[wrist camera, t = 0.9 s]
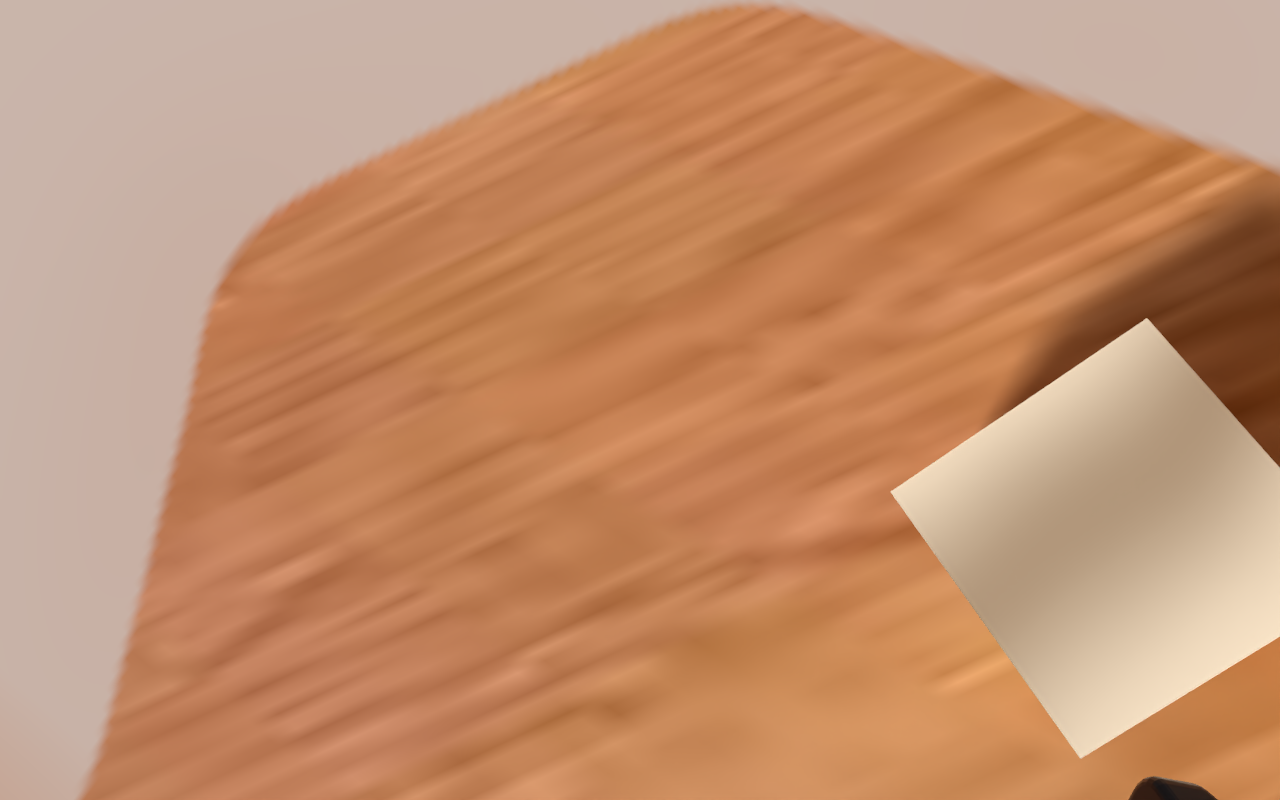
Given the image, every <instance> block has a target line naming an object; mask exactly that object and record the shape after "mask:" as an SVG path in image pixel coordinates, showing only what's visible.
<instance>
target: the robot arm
mask: <svg viewBox="0 0 1280 800" xmlns="http://www.w3.org/2000/svg"><path fill="white" fill-rule="evenodd" d="M1129 800H1217V799H1216V798H1215V797H1214V796H1213V795H1211V794H1210V793H1209V792H1208V791H1207V790H1205V789H1204V788H1202V787H1200V786H1198V785H1196V784H1193V783H1189V782H1183V781H1178V780H1172V779H1167V778H1161V777H1147V778H1145V779H1143V780H1142V781H1141V782H1139V783H1138V784H1137V786H1136V787H1135V789H1134V791H1133V792H1132V794H1131V796H1130V798H1129Z"/></svg>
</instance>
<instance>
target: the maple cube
mask: <svg viewBox="0 0 1280 800" xmlns="http://www.w3.org/2000/svg"><path fill="white" fill-rule="evenodd" d="M891 493H892V495H893V496H894V497H895V499H896V500H897V502H898V503H899V505H900V506H901V507H902V509H903V510H904V512H905V513H906V514H907V516H908V517H909V519H910V520H911V521H912V523H913V524H914V526H915V527H916V528H917V530H918V531H919V533H920V534H921V535H922V537H923V538H924V540H925V541H926V542H927V544H928V545H929V547H930V548H931V549H932V551H933V552H934V554H935V555H936V556H937V558H938V559H939V561H940V562H941V564H942V565H943V566H944V568H945V569H946V571H947V572H948V573H949V575H950V576H951V578H952V579H953V580H954V582H955V583H956V585H957V586H958V587H959V589H960V590H961V592H962V593H963V594H964V596H965V597H966V599H967V600H968V601H969V603H970V604H971V606H972V607H973V608H974V610H975V611H976V613H977V614H978V615H979V617H980V618H981V620H982V621H983V623H984V624H985V625H986V627H987V628H988V630H989V631H990V632H991V634H992V635H993V637H994V638H995V639H996V641H997V642H998V644H999V645H1000V646H1001V648H1002V649H1003V651H1004V652H1005V653H1006V655H1007V656H1008V658H1009V659H1010V660H1011V662H1012V663H1013V665H1014V666H1015V667H1016V669H1017V670H1018V672H1019V673H1020V675H1021V676H1022V677H1023V679H1024V680H1025V682H1026V683H1027V684H1028V686H1029V687H1030V689H1031V690H1032V691H1033V693H1034V694H1035V696H1036V697H1037V698H1038V700H1039V701H1040V703H1041V704H1042V705H1043V707H1044V708H1045V710H1046V711H1047V712H1048V714H1049V715H1050V717H1051V718H1052V719H1053V721H1054V722H1055V724H1056V725H1057V726H1058V728H1059V729H1060V731H1061V732H1062V734H1063V735H1064V736H1065V738H1066V739H1067V741H1068V742H1069V743H1070V745H1071V746H1072V748H1073V749H1074V750H1075V752H1076V753H1077V755H1078V756H1079V757H1080V759H1081V758H1082V757H1084V756H1086V755H1087V754H1089V753H1091V752H1092V751H1094V750H1096V749H1097V748H1099V747H1100V746H1102V745H1104V744H1105V743H1107V742H1109V741H1110V740H1112V739H1113V738H1115V737H1117V736H1118V735H1120V734H1122V733H1123V732H1125V731H1126V730H1128V729H1130V728H1131V727H1133V726H1135V725H1136V724H1138V723H1140V722H1141V721H1143V720H1144V719H1146V718H1148V717H1149V716H1151V715H1153V714H1154V713H1156V712H1157V711H1159V710H1161V709H1162V708H1164V707H1166V706H1167V705H1169V704H1170V703H1172V702H1174V701H1175V700H1177V699H1179V698H1180V697H1182V696H1184V695H1185V694H1187V693H1188V692H1190V691H1192V690H1193V689H1195V688H1197V687H1198V686H1200V685H1201V684H1203V683H1205V682H1206V681H1208V680H1210V679H1211V678H1213V677H1214V676H1216V675H1218V674H1219V673H1221V672H1223V671H1224V670H1226V669H1228V668H1229V667H1231V666H1232V665H1234V664H1236V663H1237V662H1239V661H1241V660H1242V659H1244V658H1245V657H1247V656H1249V655H1250V654H1252V653H1254V652H1255V651H1257V650H1258V649H1260V648H1262V647H1263V646H1265V645H1267V644H1268V643H1270V642H1272V641H1273V640H1275V639H1276V638H1278V637H1280V467H1279V466H1278V465H1277V464H1276V463H1275V462H1274V461H1273V460H1272V458H1271V457H1270V456H1269V455H1268V454H1267V453H1266V452H1265V451H1264V449H1263V448H1262V447H1261V446H1260V445H1259V444H1258V443H1257V442H1256V440H1255V439H1254V438H1253V437H1252V436H1251V435H1250V434H1249V433H1248V431H1247V430H1246V429H1245V428H1244V427H1243V426H1242V425H1241V423H1240V422H1239V421H1238V420H1237V419H1236V418H1235V417H1234V416H1233V414H1232V413H1231V412H1230V411H1229V410H1228V409H1227V408H1226V407H1225V405H1224V404H1223V403H1222V402H1221V401H1220V400H1219V399H1218V398H1217V396H1216V395H1215V394H1214V393H1213V392H1212V391H1211V390H1210V389H1209V387H1208V386H1207V385H1206V384H1205V383H1204V382H1203V381H1202V379H1201V378H1200V377H1199V376H1198V375H1197V374H1196V373H1195V372H1194V370H1193V369H1192V368H1191V367H1190V366H1189V365H1188V364H1187V363H1186V361H1185V360H1184V359H1183V358H1182V357H1181V356H1180V355H1179V354H1178V352H1177V351H1176V350H1175V349H1174V348H1173V347H1172V346H1171V345H1170V343H1169V342H1168V341H1167V340H1166V339H1165V338H1164V337H1163V336H1162V334H1161V333H1160V332H1159V331H1158V330H1157V329H1156V328H1155V326H1154V325H1153V324H1152V323H1151V322H1150V321H1149V320H1148V319H1147V318H1146V319H1145V320H1143V321H1142V322H1140V323H1139V324H1137V325H1136V326H1135V327H1133V328H1132V329H1130V330H1129V331H1127V332H1126V333H1124V334H1123V335H1121V336H1120V337H1118V338H1117V339H1115V340H1114V341H1112V342H1111V343H1109V344H1108V345H1106V346H1105V347H1104V348H1102V349H1101V350H1099V351H1098V352H1096V353H1095V354H1093V355H1092V356H1090V357H1089V358H1087V359H1086V360H1084V361H1083V362H1081V363H1080V364H1078V365H1077V366H1075V367H1074V368H1073V369H1071V370H1070V371H1068V372H1067V373H1065V374H1064V375H1062V376H1061V377H1059V378H1058V379H1056V380H1055V381H1053V382H1052V383H1050V384H1049V385H1047V386H1046V387H1044V388H1043V389H1042V390H1040V391H1039V392H1037V393H1036V394H1034V395H1033V396H1031V397H1030V398H1028V399H1027V400H1025V401H1024V402H1022V403H1021V404H1019V405H1018V406H1016V407H1015V408H1013V409H1012V410H1011V411H1009V412H1008V413H1006V414H1005V415H1003V416H1002V417H1000V418H999V419H997V420H996V421H994V422H993V423H991V424H990V425H988V426H987V427H985V428H984V429H982V430H981V431H980V432H978V433H977V434H975V435H974V436H972V437H971V438H969V439H968V440H966V441H965V442H963V443H962V444H960V445H959V446H957V447H956V448H954V449H953V450H951V451H950V452H949V453H947V454H946V455H944V456H943V457H941V458H940V459H938V460H937V461H935V462H934V463H932V464H931V465H929V466H928V467H926V468H925V469H923V470H922V471H920V472H919V473H918V474H916V475H915V476H913V477H912V478H910V479H909V480H907V481H906V482H904V483H903V484H901V485H900V486H898V487H897V488H895V489H894V490H892V491H891Z"/></svg>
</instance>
